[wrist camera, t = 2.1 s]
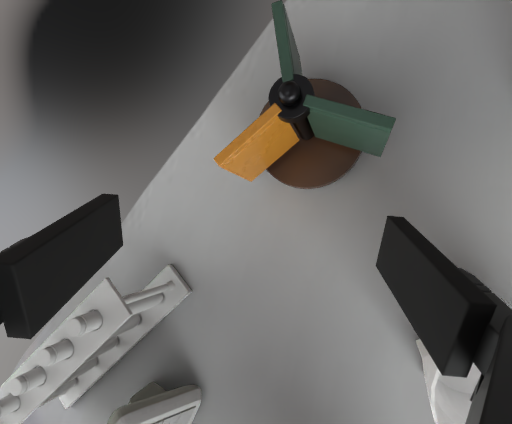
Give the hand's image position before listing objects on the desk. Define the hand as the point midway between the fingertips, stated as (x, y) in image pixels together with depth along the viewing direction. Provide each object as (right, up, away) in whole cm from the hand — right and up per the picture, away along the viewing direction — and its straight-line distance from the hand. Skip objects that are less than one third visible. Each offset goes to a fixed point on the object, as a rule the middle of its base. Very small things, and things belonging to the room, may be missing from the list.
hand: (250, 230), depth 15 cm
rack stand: (+6, +10, +20) cm, 23 cm away
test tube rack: (-18, -16, +26) cm, 35 cm away
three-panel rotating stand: (+6, +8, +18) cm, 21 cm away
